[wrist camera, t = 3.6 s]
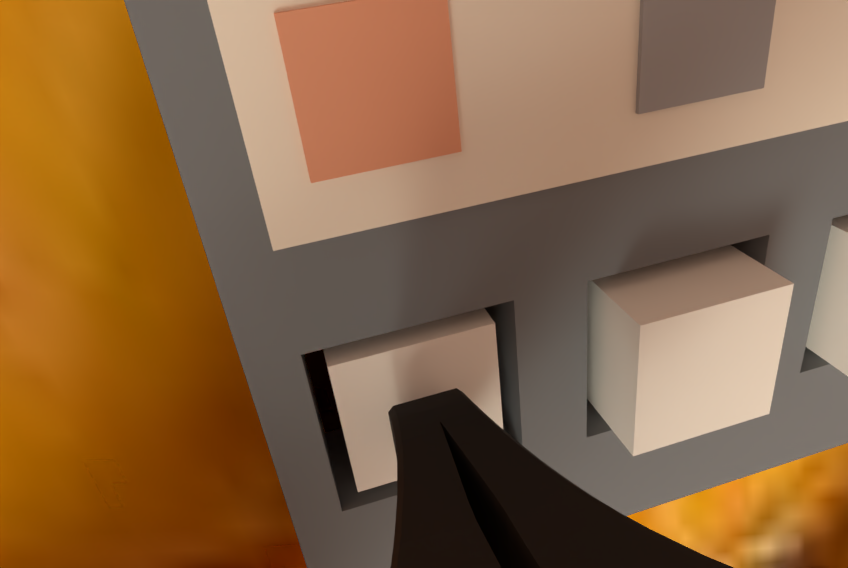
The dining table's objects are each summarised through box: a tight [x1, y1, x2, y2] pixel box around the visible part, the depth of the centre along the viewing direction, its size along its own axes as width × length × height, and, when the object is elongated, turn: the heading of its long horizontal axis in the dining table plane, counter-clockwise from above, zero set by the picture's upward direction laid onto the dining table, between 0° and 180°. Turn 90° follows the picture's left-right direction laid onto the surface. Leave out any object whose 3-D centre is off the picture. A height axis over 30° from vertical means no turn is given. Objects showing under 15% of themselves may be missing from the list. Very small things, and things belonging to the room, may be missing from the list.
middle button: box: [587, 245, 794, 456], centre depth 14 cm, size 3×3×2 cm
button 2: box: [323, 308, 503, 492], centre depth 14 cm, size 3×3×2 cm
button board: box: [124, 0, 848, 568], centre depth 14 cm, size 17×14×3 cm
